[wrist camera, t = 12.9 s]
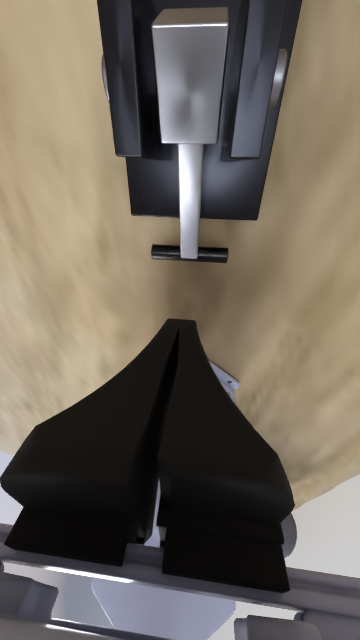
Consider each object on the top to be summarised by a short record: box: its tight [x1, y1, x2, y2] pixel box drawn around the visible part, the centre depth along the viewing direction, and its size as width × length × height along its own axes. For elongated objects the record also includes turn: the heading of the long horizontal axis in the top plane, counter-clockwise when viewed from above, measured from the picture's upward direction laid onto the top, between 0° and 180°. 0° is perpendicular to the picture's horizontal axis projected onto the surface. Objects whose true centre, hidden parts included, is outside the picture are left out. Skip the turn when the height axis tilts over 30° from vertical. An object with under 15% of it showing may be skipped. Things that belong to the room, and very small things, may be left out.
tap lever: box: [151, 7, 230, 263], centre depth 11 cm, size 10×5×2 cm, turn 178°
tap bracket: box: [97, 0, 302, 220], centre depth 10 cm, size 11×9×9 cm
